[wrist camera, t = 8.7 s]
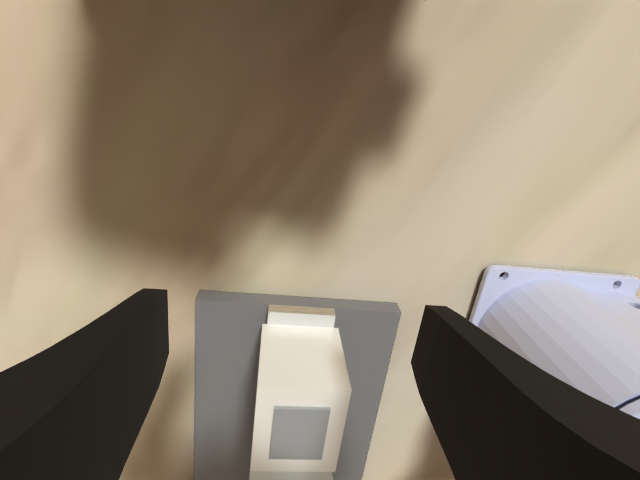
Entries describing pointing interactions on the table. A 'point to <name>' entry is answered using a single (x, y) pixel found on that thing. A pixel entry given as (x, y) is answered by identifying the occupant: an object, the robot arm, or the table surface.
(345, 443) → the board
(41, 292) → the table surface
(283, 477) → the block
